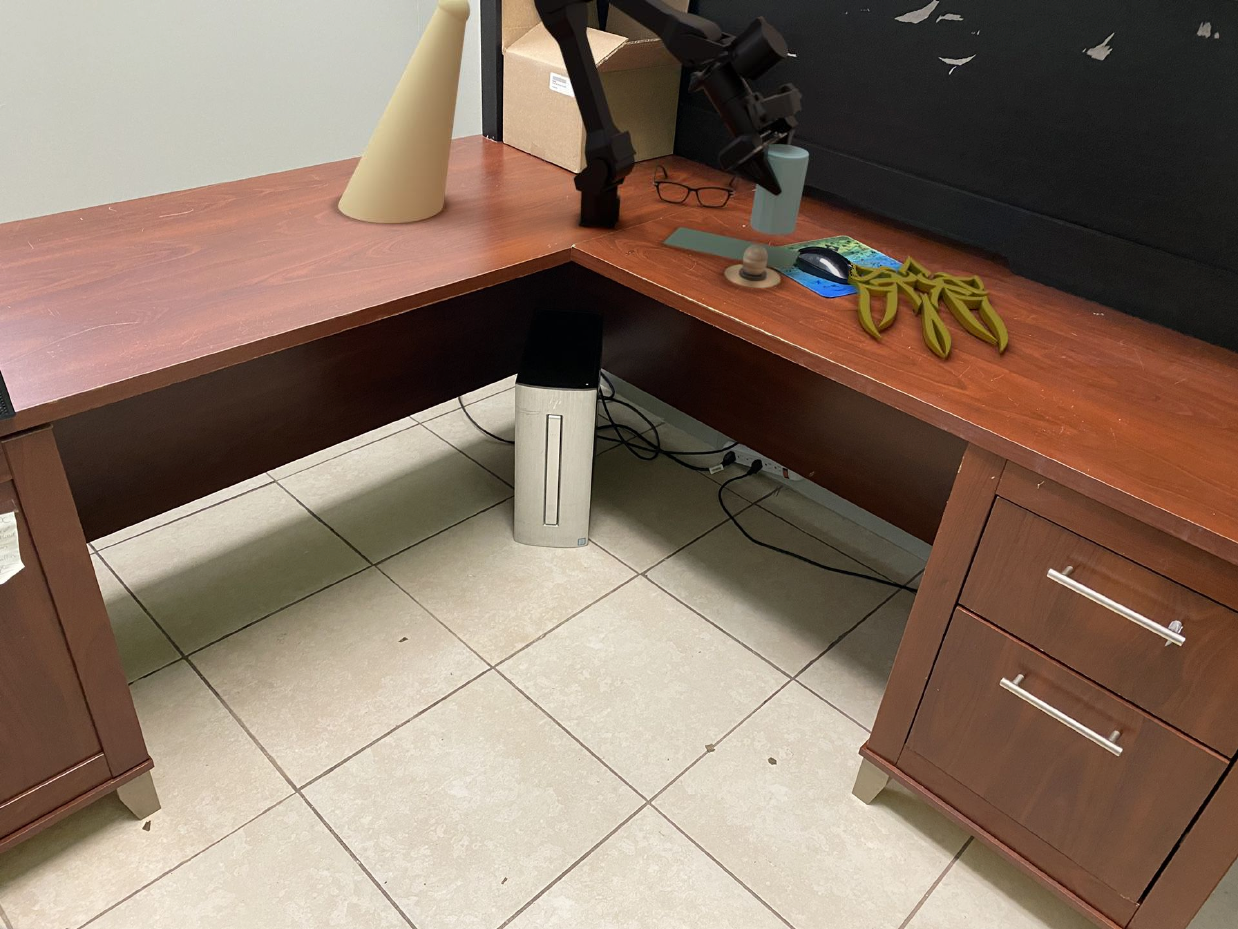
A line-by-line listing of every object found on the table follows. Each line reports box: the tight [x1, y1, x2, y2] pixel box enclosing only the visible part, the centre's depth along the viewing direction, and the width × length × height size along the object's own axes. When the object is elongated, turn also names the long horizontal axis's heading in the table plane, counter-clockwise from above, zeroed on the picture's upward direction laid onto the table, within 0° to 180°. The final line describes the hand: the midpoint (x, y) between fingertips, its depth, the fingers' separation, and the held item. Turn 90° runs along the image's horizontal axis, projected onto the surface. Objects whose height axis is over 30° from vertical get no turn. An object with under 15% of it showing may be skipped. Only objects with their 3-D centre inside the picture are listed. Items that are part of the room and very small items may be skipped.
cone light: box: [337, 0, 471, 224], centre depth 144 cm, size 25×18×35 cm
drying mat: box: [662, 226, 801, 272], centre depth 148 cm, size 22×9×1 cm, turn 68°
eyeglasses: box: [652, 164, 741, 209], centre depth 170 cm, size 16×16×4 cm
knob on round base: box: [723, 245, 781, 289], centre depth 137 cm, size 9×9×6 cm
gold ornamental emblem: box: [847, 254, 1009, 359], centre depth 133 cm, size 22×2×35 cm
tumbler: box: [749, 144, 810, 236], centre depth 135 cm, size 7×7×12 cm
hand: (787, 188), depth 134 cm, fingers closed on tumbler, 7 cm apart
